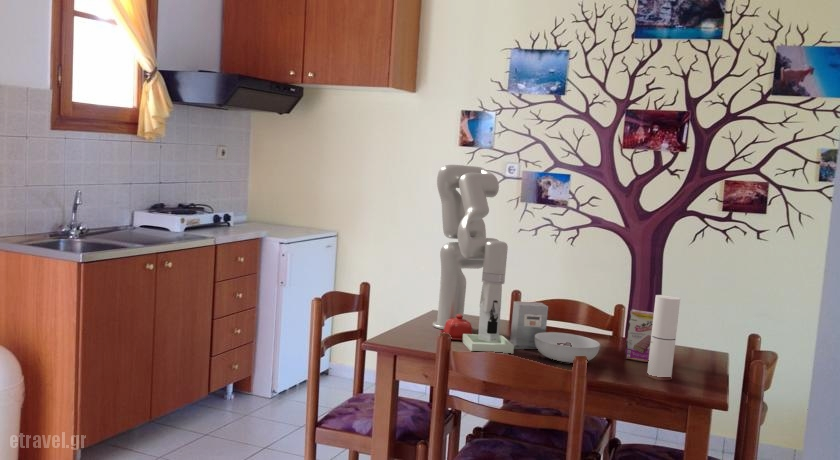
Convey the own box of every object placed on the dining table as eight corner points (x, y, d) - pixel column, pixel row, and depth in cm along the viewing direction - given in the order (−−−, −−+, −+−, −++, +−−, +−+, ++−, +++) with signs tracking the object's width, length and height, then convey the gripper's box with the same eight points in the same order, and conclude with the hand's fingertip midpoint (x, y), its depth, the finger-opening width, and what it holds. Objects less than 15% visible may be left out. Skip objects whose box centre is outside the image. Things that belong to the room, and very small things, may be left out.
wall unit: (506, 342, 264) (510, 300, 263) (539, 344, 266) (543, 302, 265) (513, 349, 256) (517, 305, 254) (547, 350, 258) (552, 307, 256)
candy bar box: (624, 359, 254) (629, 311, 252) (625, 356, 258) (630, 308, 257) (659, 365, 250) (664, 316, 249) (659, 361, 255) (665, 313, 253)
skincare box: (499, 341, 254) (502, 305, 253) (489, 343, 251) (492, 306, 250) (486, 337, 258) (489, 302, 257) (476, 338, 255) (479, 303, 254)
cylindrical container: (657, 381, 229) (666, 299, 227) (641, 374, 236) (650, 294, 234) (676, 380, 232) (685, 299, 230) (660, 373, 239) (668, 295, 237)
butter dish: (477, 343, 261) (479, 318, 261) (444, 341, 259) (446, 317, 259) (470, 335, 273) (472, 312, 272) (438, 333, 271) (440, 310, 270)
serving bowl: (594, 372, 234) (597, 350, 233) (527, 362, 240) (529, 340, 239) (601, 358, 253) (603, 337, 253) (538, 348, 260) (540, 328, 259)
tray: (462, 341, 260) (462, 333, 260) (501, 343, 263) (502, 335, 262) (471, 351, 247) (472, 343, 246) (513, 353, 249) (513, 345, 249)
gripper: (476, 273, 261) (471, 324, 262) (489, 281, 244) (484, 336, 245) (497, 274, 262) (493, 325, 263) (511, 283, 245) (506, 337, 246)
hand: (488, 330), depth 254 cm, fingers closed on skincare box, 7 cm apart
